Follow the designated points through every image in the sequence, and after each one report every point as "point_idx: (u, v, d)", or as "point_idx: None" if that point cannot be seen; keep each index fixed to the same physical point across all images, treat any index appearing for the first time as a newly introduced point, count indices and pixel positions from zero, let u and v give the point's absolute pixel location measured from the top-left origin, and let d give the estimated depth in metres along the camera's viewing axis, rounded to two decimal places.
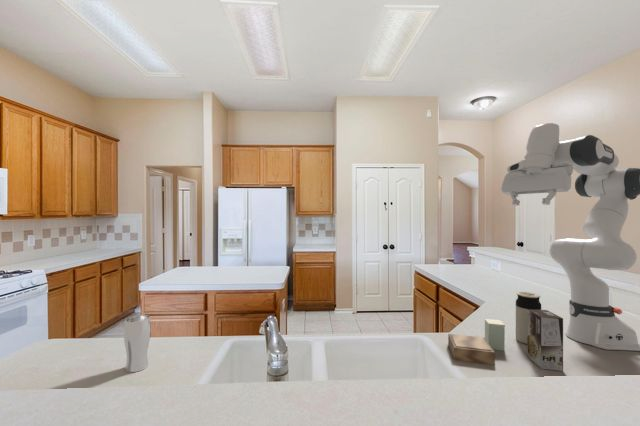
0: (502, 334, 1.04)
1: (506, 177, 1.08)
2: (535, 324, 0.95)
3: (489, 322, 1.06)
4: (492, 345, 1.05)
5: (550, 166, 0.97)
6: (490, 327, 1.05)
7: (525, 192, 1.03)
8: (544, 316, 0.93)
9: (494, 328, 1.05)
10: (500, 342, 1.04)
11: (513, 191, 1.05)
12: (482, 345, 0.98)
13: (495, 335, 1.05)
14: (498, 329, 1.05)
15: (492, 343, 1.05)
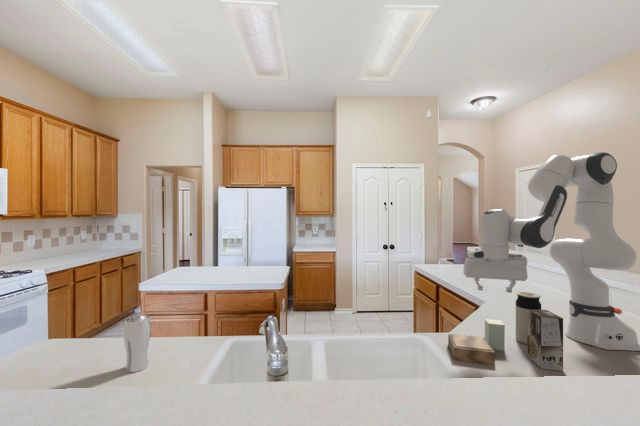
0: (502, 334, 1.04)
1: (470, 263, 1.07)
2: (535, 324, 0.95)
3: (489, 322, 1.06)
4: (492, 345, 1.05)
5: None
6: (490, 327, 1.05)
7: None
8: (544, 316, 0.93)
9: (494, 328, 1.05)
10: (500, 342, 1.04)
11: (478, 278, 1.08)
12: (482, 345, 0.98)
13: (495, 335, 1.05)
14: (498, 329, 1.05)
15: (492, 343, 1.05)
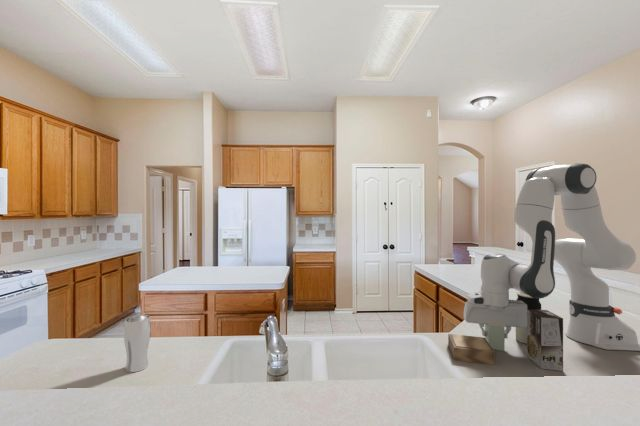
0: (502, 334, 1.04)
1: (470, 308, 1.07)
2: (535, 324, 0.95)
3: None
4: (492, 345, 1.05)
5: None
6: (490, 327, 1.05)
7: None
8: (544, 316, 0.93)
9: (494, 328, 1.05)
10: (500, 342, 1.04)
11: (478, 323, 1.07)
12: (482, 345, 0.98)
13: (495, 335, 1.05)
14: (498, 329, 1.05)
15: (492, 343, 1.05)
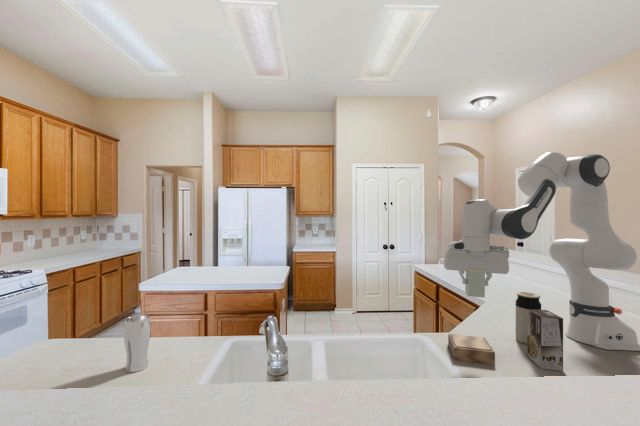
0: (482, 280, 1.00)
1: (450, 255, 1.03)
2: (535, 324, 0.95)
3: (469, 269, 1.02)
4: (472, 292, 1.01)
5: (490, 248, 1.01)
6: (470, 273, 1.01)
7: None
8: (544, 316, 0.93)
9: (474, 274, 1.01)
10: (480, 288, 1.00)
11: (458, 270, 1.03)
12: (482, 345, 0.98)
13: (475, 282, 1.00)
14: (478, 275, 1.00)
15: (472, 290, 1.01)
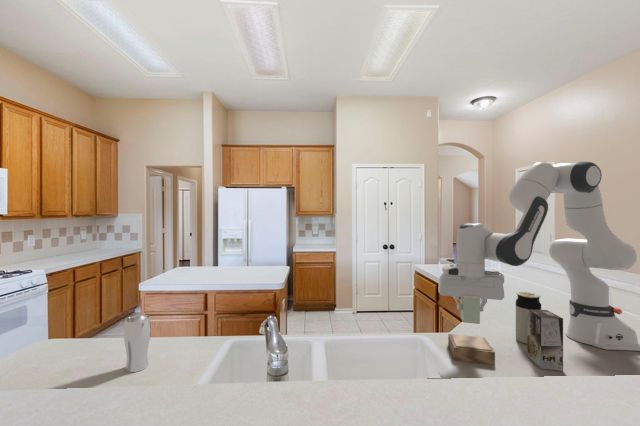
0: (477, 306, 0.98)
1: (444, 280, 1.01)
2: (535, 324, 0.95)
3: None
4: (467, 318, 0.99)
5: (484, 273, 0.99)
6: (465, 299, 0.99)
7: None
8: (544, 316, 0.93)
9: (469, 300, 0.99)
10: (475, 315, 0.98)
11: None
12: (482, 345, 0.98)
13: (470, 308, 0.99)
14: (473, 301, 0.99)
15: (467, 316, 0.99)
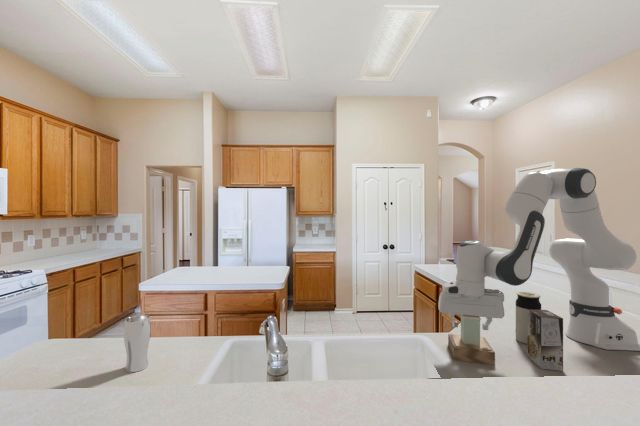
0: (478, 328, 0.98)
1: (444, 298, 1.01)
2: (535, 324, 0.95)
3: (464, 315, 1.00)
4: (467, 339, 0.99)
5: None
6: (465, 320, 0.99)
7: None
8: (544, 316, 0.93)
9: (469, 321, 0.99)
10: (476, 336, 0.98)
11: (453, 314, 1.01)
12: (482, 345, 0.98)
13: (470, 329, 0.99)
14: (473, 322, 0.99)
15: (467, 337, 0.99)
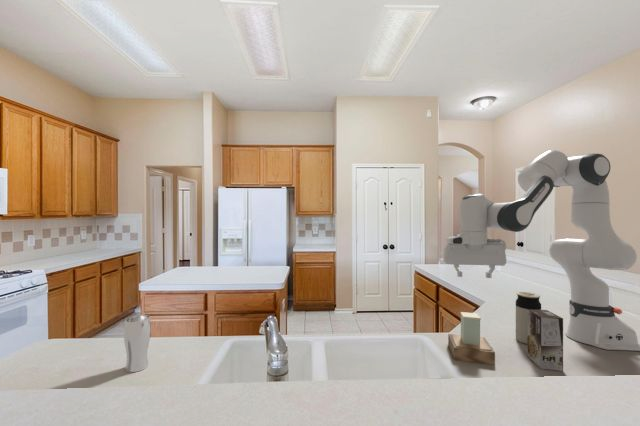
0: (478, 328, 0.98)
1: (449, 249, 1.06)
2: (535, 324, 0.95)
3: (464, 315, 1.00)
4: (467, 339, 0.99)
5: (487, 241, 1.04)
6: (465, 320, 0.99)
7: None
8: (544, 316, 0.93)
9: (469, 321, 0.99)
10: (476, 336, 0.98)
11: (457, 264, 1.06)
12: (482, 345, 0.98)
13: (470, 329, 0.99)
14: (473, 322, 0.99)
15: (467, 337, 0.99)
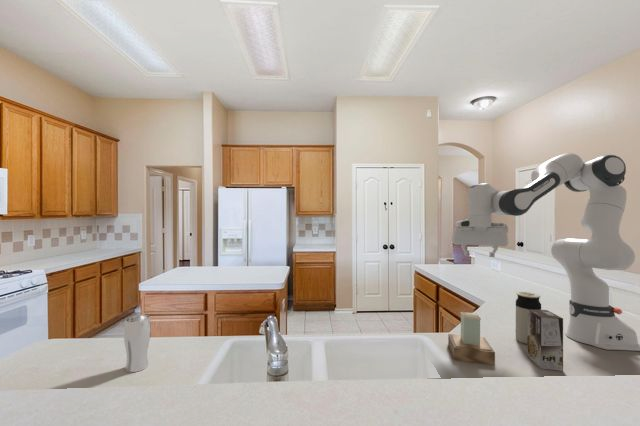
0: (478, 328, 0.98)
1: (457, 231, 1.21)
2: (535, 324, 0.95)
3: (464, 315, 1.00)
4: (467, 339, 0.99)
5: None
6: (465, 320, 0.99)
7: None
8: (544, 316, 0.93)
9: (469, 321, 0.99)
10: (476, 336, 0.98)
11: (465, 244, 1.21)
12: (482, 345, 0.98)
13: (470, 329, 0.99)
14: (473, 322, 0.99)
15: (467, 337, 0.99)
